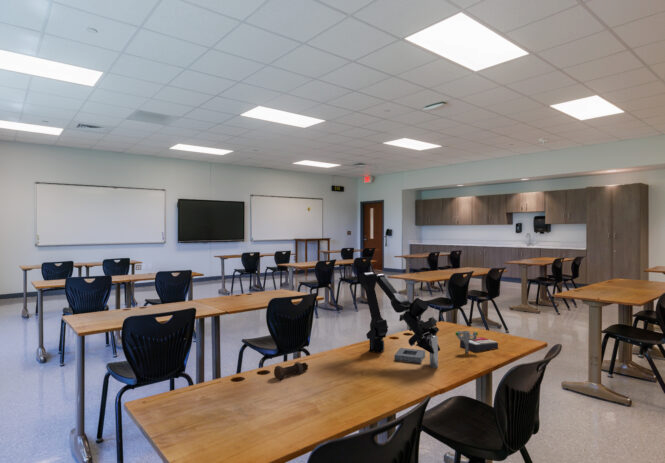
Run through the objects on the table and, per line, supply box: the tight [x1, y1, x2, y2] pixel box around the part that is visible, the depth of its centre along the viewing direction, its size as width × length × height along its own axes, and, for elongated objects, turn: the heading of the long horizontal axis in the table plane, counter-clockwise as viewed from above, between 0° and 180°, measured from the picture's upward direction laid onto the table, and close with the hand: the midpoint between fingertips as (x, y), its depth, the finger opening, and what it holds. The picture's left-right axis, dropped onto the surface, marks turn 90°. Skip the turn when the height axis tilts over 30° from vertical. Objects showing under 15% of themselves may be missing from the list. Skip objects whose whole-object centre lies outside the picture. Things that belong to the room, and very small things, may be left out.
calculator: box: [459, 336, 499, 353], centre depth 200 cm, size 11×4×15 cm
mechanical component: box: [454, 330, 478, 354], centre depth 192 cm, size 3×10×10 cm, turn 89°
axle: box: [429, 335, 439, 369], centre depth 172 cm, size 4×4×13 cm
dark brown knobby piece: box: [273, 361, 309, 381], centre depth 164 cm, size 6×5×15 cm
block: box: [393, 347, 426, 364], centre depth 184 cm, size 12×12×2 cm
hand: (436, 351), depth 171 cm, fingers open, 5 cm apart
